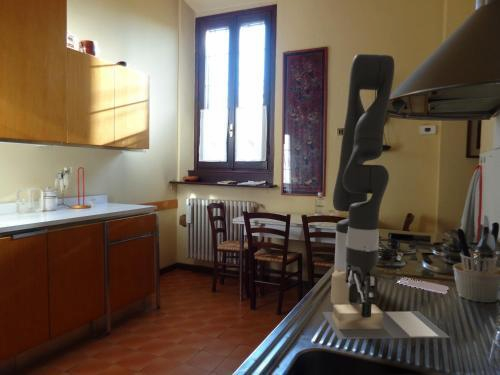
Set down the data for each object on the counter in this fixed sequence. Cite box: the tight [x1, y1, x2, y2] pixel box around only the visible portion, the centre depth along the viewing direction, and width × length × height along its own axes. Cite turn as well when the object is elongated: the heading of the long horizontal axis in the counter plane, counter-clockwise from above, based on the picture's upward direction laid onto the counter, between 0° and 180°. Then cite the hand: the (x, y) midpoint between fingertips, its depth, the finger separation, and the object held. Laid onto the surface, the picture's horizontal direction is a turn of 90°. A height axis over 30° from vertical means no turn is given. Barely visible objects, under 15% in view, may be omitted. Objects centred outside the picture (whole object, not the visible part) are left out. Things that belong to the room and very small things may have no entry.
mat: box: [321, 310, 451, 340], centre depth 89 cm, size 14×27×1 cm, turn 94°
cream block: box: [332, 303, 383, 329], centre depth 88 cm, size 11×5×4 cm, turn 94°
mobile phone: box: [396, 276, 450, 295], centre depth 118 cm, size 8×1×15 cm
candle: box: [330, 269, 351, 305], centre depth 101 cm, size 6×6×10 cm
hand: (359, 309), depth 88 cm, fingers open, 8 cm apart
